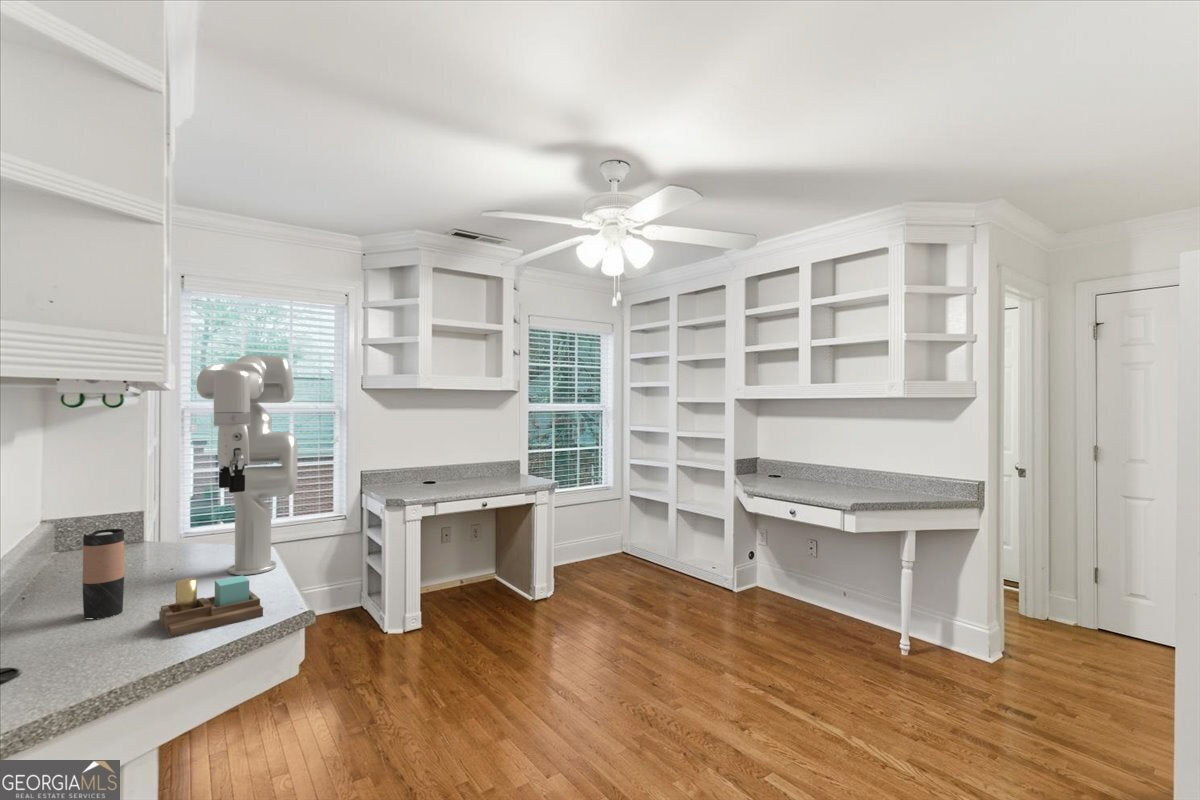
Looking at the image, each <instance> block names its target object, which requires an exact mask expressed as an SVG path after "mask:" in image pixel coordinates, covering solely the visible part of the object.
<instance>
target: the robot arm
mask: <svg viewBox="0 0 1200 800" xmlns="http://www.w3.org/2000/svg"><path fill="white" fill-rule="evenodd" d="M195 385H196V391H197V393H198V394H199V396H200V397H201V398H202V399H205V400H213V427H218V428H217V429H218V430H217V451H216V452H217V454H216V455H217V463H218V464H219V468H218V488H220V489H227V488H228V492H229V493H231V494H233V500H234V565H231V566H229V568H228V573H229V574H230V575H233V574H234V575H235V576H241V575H243V576H249V575H256V574H261V573H262V574H263V573H266V572H269V571H272V570H274V569H275V568H276V567H277V561H275V560H272V550H271V549H272V512H271V508H270V507H269V505H268V504H267V502H265V501H264V500H263V498H274V497H275V498H276V497H277V498H278V497H287V496H291V495H294V493H295V492H296V490H297V487H298V486H297V485H298V440H297V438H296V436H295V435H294V433H291V432H285V431H284V432H280V431H279V432H277V431H276V432H275V431H274V432H273V431H272V416H271V415H270V413H269V412H268V411H267V410H266V409H265V408H264V407H263V406H262V405H261V404H269V403H270V404H273V403H274V404H285V403H289V402H290V401H292V399H293V398H294V395H295V386H294V385H295V384H294V378H293V373H292V367H291V365H290V362H289V360H288V359H287V358H286V357H284V356H281V355H262V354H261V355H260V354H248V355H247V354H246V355H244V356H242V357H240V358H238V359H237V360H236V361H231V362H225V363H219V364H212V365H208V366H206V367H204V368H203V369H202V370H200V372H199V374H198V376H197V378H196V384H195ZM260 403H261V404H260ZM262 463H263V464H264V463H266V464H267V463H279V464H280V465H271V466H267V465H266V466H265V465H263V466H248V465H250V464H262ZM234 575H233V576H234Z"/></svg>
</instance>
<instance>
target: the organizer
mask: <svg viewBox="0 0 1200 800" xmlns="http://www.w3.org/2000/svg"><path fill="white" fill-rule="evenodd" d="M158 616H159V618H158V619H159V622H160V623H161V625H162V626H163V627H164V630H165V632H166V633H167V632H168V633H167V634H168V636H169V635H170V636H169V638H171V637H173V638H176V637H175V636H177V637H180V636H179V635H181V636H185V635H188V634H187V633H189V634H193V633H192V632H194V633H196V632H197V631H198V632H201V631H206V630H210V629H214V628H218V627H222V626H226V625H230V624H235V623H234V622H236V623H239V621H240V622H244V621H248V620H251V618H252V619H256V617H257V618H261V617H264V607H263V606H262V605H261V598H259V596H257V594H255V593H254V592H253V591H251V590H250V589H249V600H247V601H243V602H238V603H233V604H229V605H224V606H220V607H216V606H215V595H214V596H209V597H206V598H205V597H199V598H197V608H194V609H190V610H185V611H180V612H176V602H175V603H170V604H165V605H161V606H160V610H159V613H158ZM260 616H261V617H260ZM247 619H248V620H247ZM243 620H244V621H243ZM184 634H185V635H184Z"/></svg>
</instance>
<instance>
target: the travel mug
mask: <svg viewBox="0 0 1200 800" xmlns="http://www.w3.org/2000/svg"><path fill="white" fill-rule="evenodd" d="M82 538H83V539H82V541H83V542H82V543H83V544H82V546H83V547H82V603H83V604H82V605H83V606H82V608H83V618H84V617H85V618H93V619H96V620H98V619H97V618H103V619H106V618H105V617H108V618H111V616H112V617H114V616H113V615H115V616H117V615H119V613H120V614H121V613H122V612H123V610H124V609H123V608H124V590H125V530H124V529H122V528H108V529H107V528H106V529H98V530H95V531H93V532H92V533H90V534H86V533H84V534H83V537H82Z"/></svg>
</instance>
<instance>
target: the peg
mask: <svg viewBox="0 0 1200 800" xmlns="http://www.w3.org/2000/svg"><path fill="white" fill-rule="evenodd" d="M197 599H198V579H197V577H196V578H195V577H188V578H182V579H178V580H176V581H175V603H176V612H180V611H185V610H190V609H194V608H197Z"/></svg>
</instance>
